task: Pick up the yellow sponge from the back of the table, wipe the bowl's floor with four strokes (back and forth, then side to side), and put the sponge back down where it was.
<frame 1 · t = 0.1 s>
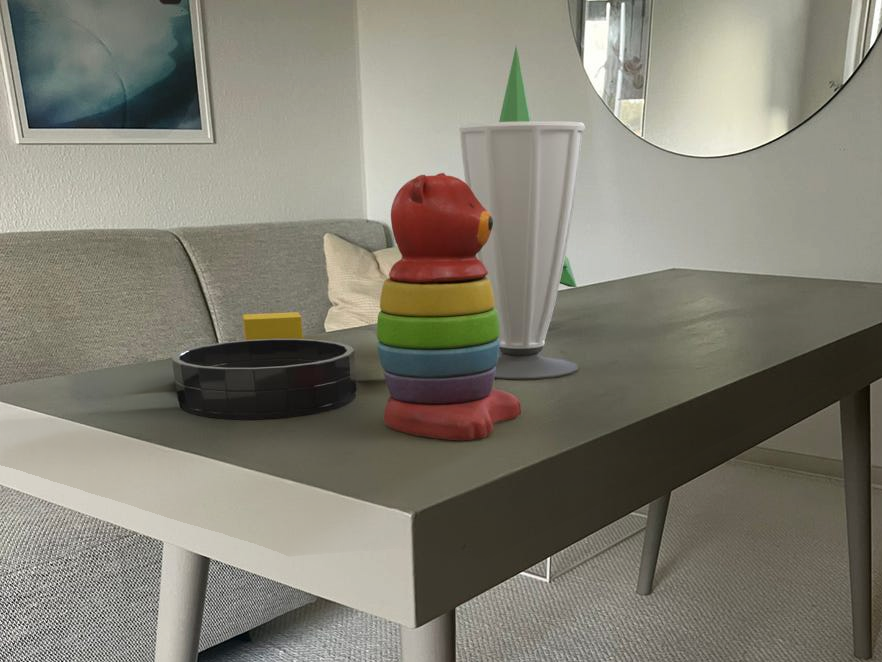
stacking bear: (445, 424, 78), on the table
decorative tree: (515, 334, 119), on the table
cup: (520, 371, 98), on the table
bowl: (269, 399, 86), on the table
sponge: (275, 353, 108), on the table
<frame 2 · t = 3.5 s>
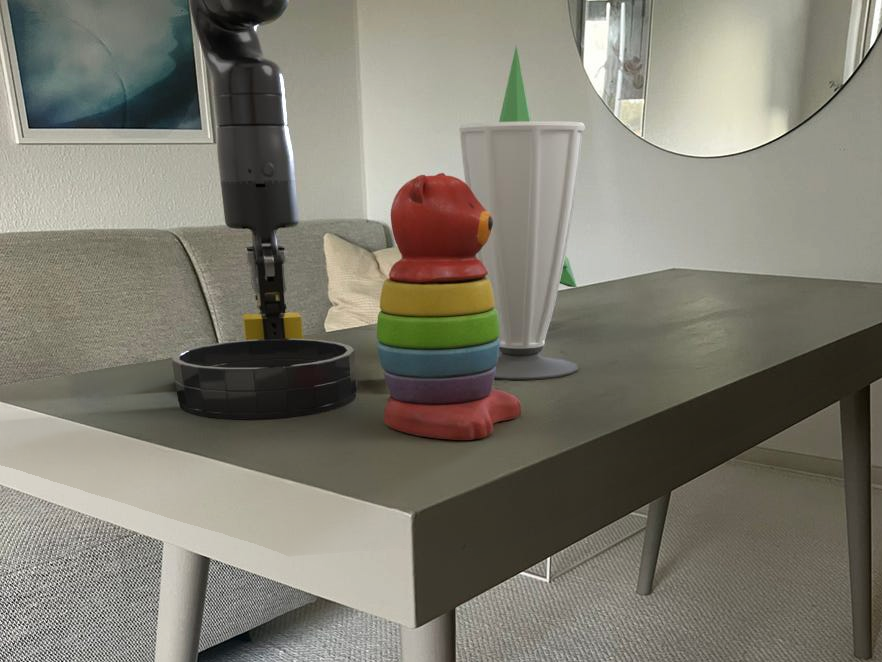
hand: (274, 349, 108), 0 cm above the table, tool pointing down, fingers closed on sponge, 4 cm apart
sponge: (275, 353, 108), on the table, touching gripper
everything else where it was.
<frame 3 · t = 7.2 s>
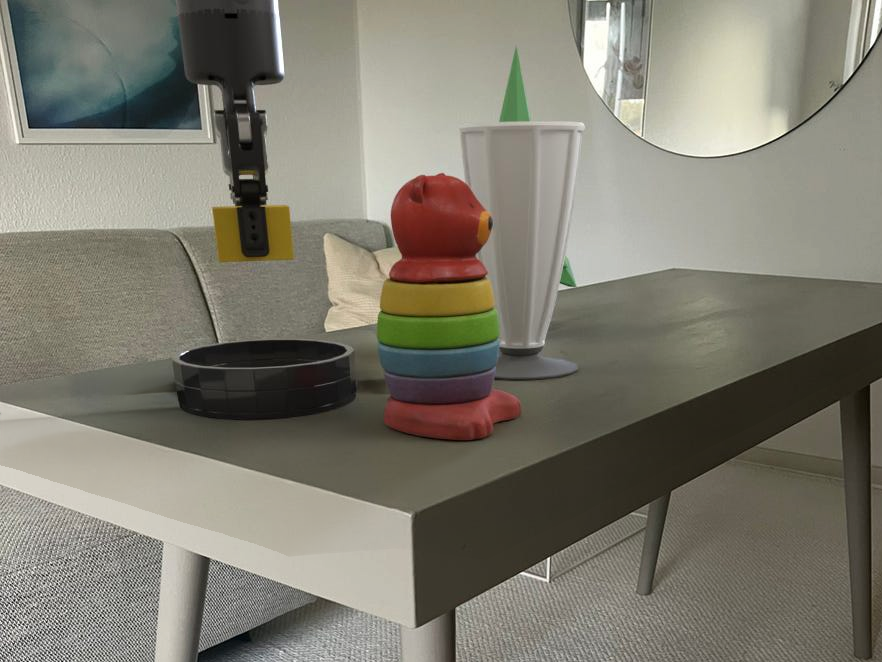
hand: (254, 253, 82), 12 cm above the table, tool pointing down, fingers closed on sponge, 4 cm apart
sponge: (255, 259, 82), point 11 cm above the table, touching gripper
everything else where it was.
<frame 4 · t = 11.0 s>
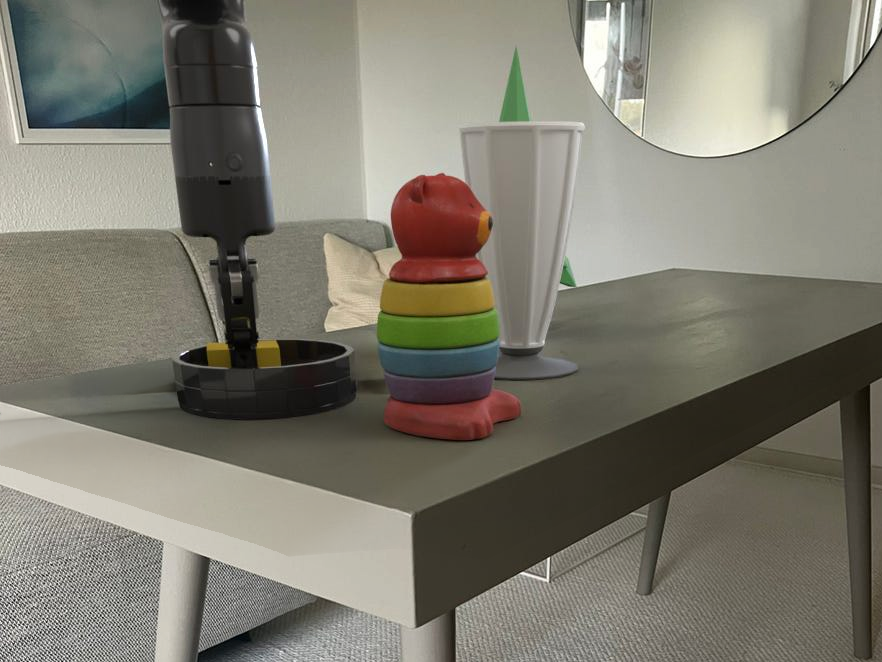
hand: (246, 386, 87), 1 cm above the table, tool pointing down, fingers closed on sponge, 4 cm apart
sponge: (247, 391, 87), point 1 cm above the table, touching gripper
everything else where it was.
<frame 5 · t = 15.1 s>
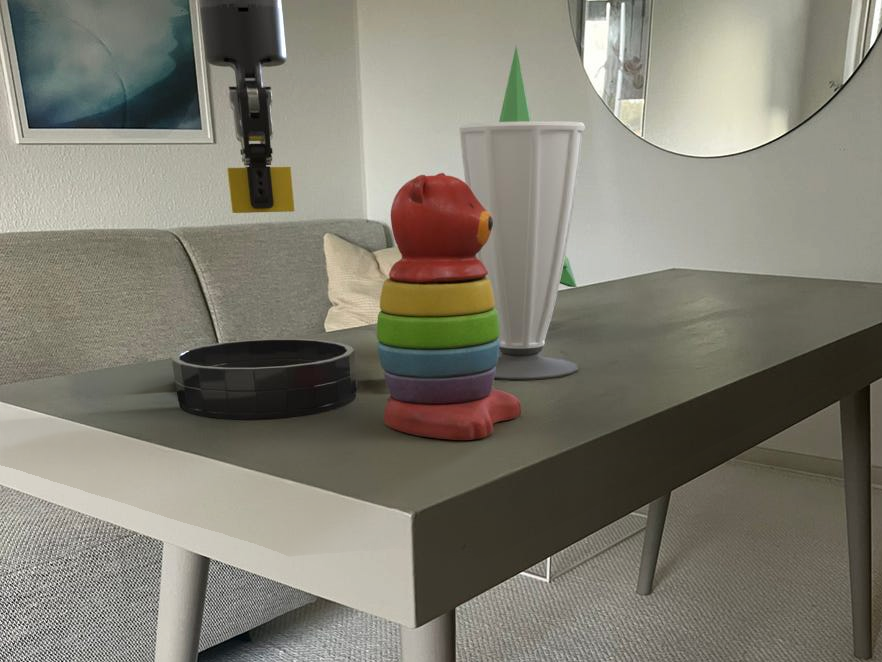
hand: (261, 206, 99), 15 cm above the table, tool pointing down, fingers closed on sponge, 4 cm apart
sponge: (263, 211, 99), point 14 cm above the table, touching gripper
everything else where it was.
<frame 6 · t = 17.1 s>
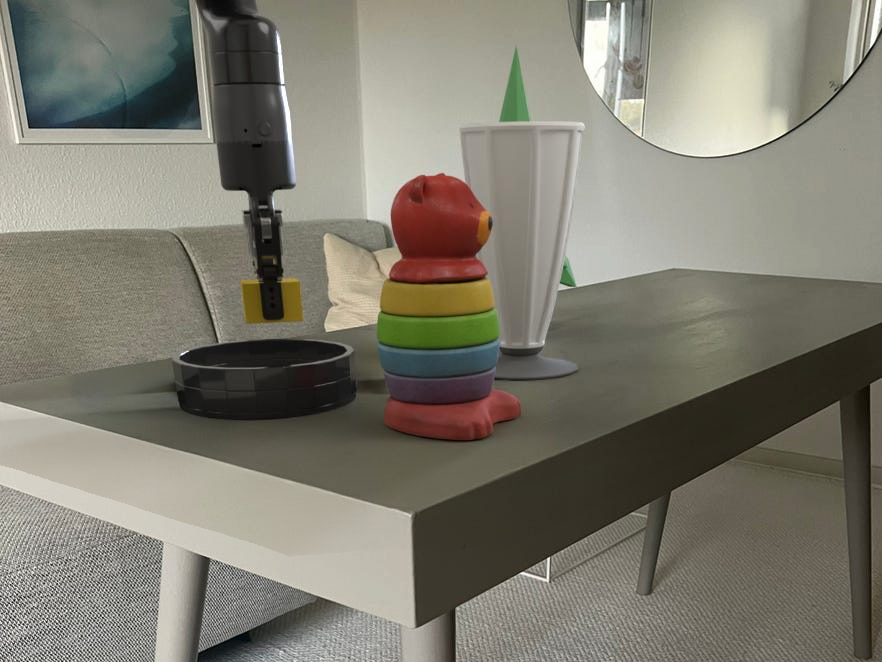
hand: (272, 315, 106), 4 cm above the table, tool pointing down, fingers closed on sponge, 4 cm apart
sponge: (273, 320, 107), point 4 cm above the table, touching gripper
everything else where it was.
when the fingers open (0 cm above the table, at t = 18.4 s): sponge stays where it is, on the table.
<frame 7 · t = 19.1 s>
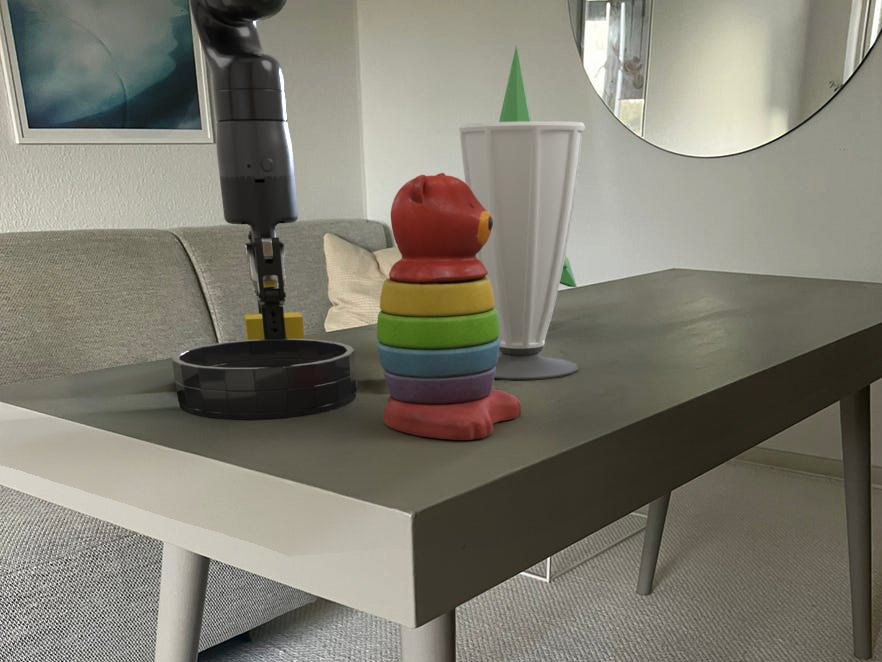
hand: (273, 337, 107), 2 cm above the table, tool pointing down, fingers open, 8 cm apart
sponge: (276, 353, 108), on the table
everything else where it was.
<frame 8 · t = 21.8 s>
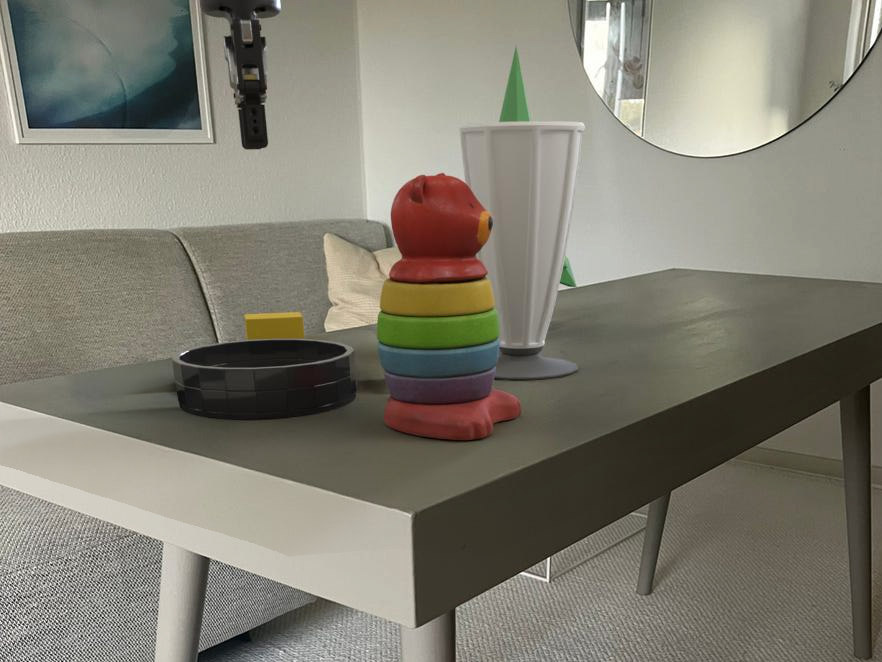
hand: (254, 148, 99), 20 cm above the table, tool pointing down, fingers open, 8 cm apart
nothing on the table moved.
at the end: sponge inside the target area on the table beside the bowl (0.2 cm from its centre), on the table; the gripper is holding nothing; sponge tilted 0° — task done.
